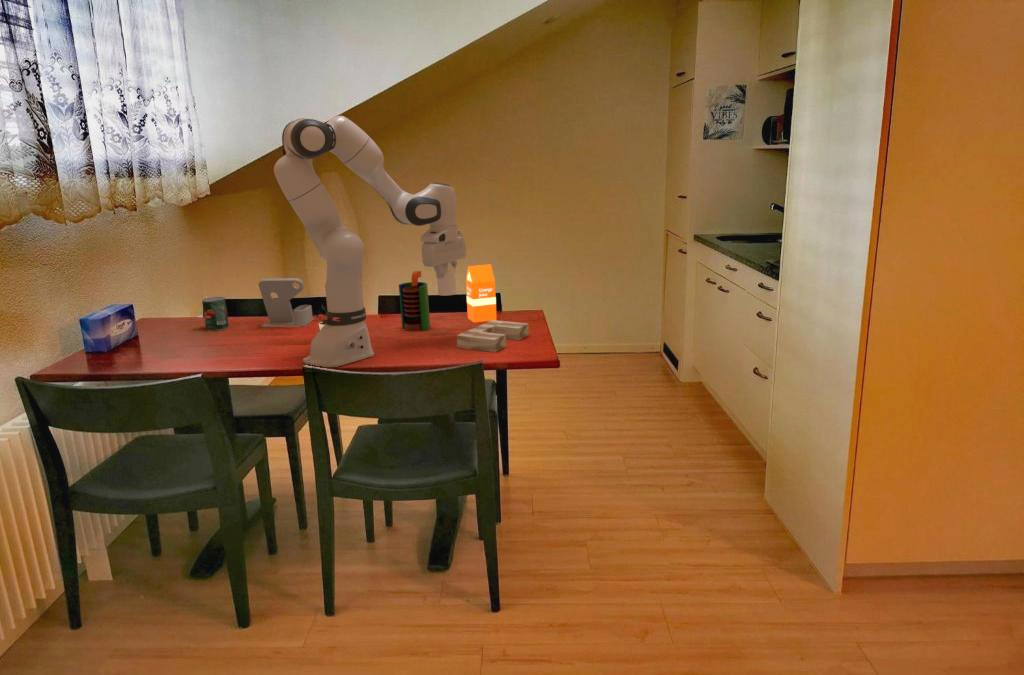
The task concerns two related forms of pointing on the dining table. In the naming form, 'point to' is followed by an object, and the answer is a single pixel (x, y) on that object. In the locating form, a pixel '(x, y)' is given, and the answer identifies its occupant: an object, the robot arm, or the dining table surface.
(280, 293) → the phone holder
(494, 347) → the notched board
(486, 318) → the orange juice
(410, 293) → the motor
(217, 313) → the canned tomato
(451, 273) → the grey rounded cylinder
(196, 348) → the dining table surface
